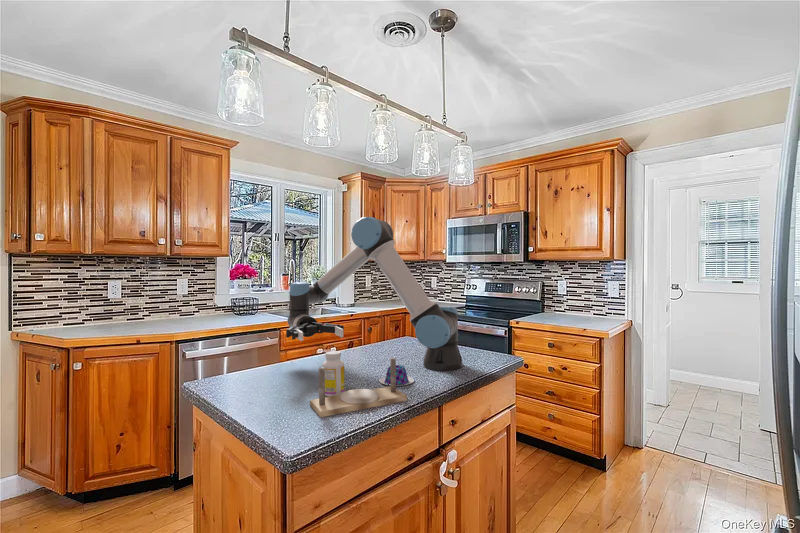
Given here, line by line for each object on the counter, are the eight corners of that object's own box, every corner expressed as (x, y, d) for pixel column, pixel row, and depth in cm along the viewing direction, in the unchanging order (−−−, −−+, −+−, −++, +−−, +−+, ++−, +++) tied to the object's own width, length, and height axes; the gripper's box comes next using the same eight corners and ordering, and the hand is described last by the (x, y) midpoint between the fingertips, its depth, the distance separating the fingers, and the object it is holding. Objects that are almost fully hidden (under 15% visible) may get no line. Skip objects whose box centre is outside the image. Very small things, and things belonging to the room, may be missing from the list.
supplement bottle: (339, 389, 127) (339, 349, 126) (348, 395, 121) (347, 353, 121) (319, 393, 123) (319, 351, 123) (327, 399, 117) (327, 356, 117)
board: (390, 390, 125) (390, 354, 125) (408, 401, 116) (407, 361, 115) (309, 404, 113) (309, 364, 113) (321, 418, 103) (320, 374, 103)
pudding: (420, 384, 132) (420, 368, 132) (387, 389, 127) (387, 373, 127) (404, 375, 143) (404, 361, 143) (373, 380, 137) (373, 365, 137)
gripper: (337, 332, 155) (357, 342, 137) (271, 338, 143) (284, 350, 125) (337, 313, 155) (358, 321, 136) (271, 317, 143) (284, 326, 125)
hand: (322, 335), depth 131 cm, fingers open, 13 cm apart
